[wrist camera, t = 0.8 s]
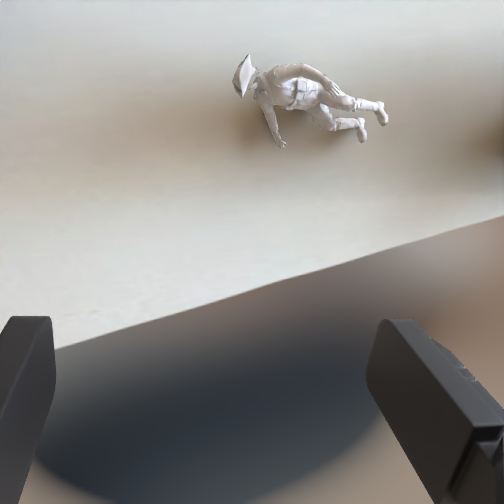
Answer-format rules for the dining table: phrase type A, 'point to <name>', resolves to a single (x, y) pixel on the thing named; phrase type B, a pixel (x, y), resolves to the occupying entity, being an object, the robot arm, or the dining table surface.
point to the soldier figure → (304, 97)
